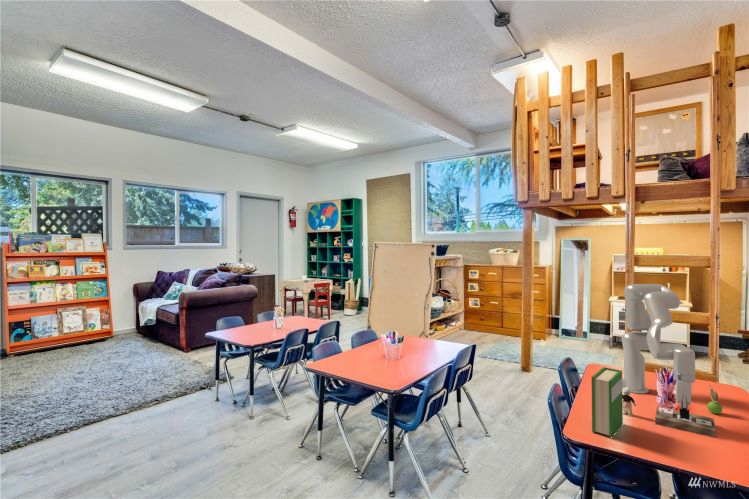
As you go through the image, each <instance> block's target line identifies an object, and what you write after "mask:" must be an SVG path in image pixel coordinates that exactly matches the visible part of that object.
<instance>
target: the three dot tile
mask: <svg viewBox="0 0 749 499" xmlns="http://www.w3.org/2000/svg"><path fill="white" fill-rule="evenodd" d="M677 419H681V420H686V421H691V422H692V417H689V419H685V418H681V417H680V415H677Z"/></svg>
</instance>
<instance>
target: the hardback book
mask: <svg viewBox="0 0 749 499" xmlns="http://www.w3.org/2000/svg"><path fill="white" fill-rule="evenodd" d="M622 379H623V370H621V369H616V368H611V367H605V366H603V367H601V368H600V369H599V370H597V372H596V373H594V374H593V375H592V376H591V433H592V432H595V433H600V434H603V435H606V436H609V438H610V437H613V436H614V434H615V433H616V432H617V433H618V431H619V430H620V429H619V428H621V427H622V426H623V425H622V424H624V423H623V422H624V421H623V420H624V417H623V415H624V414H623V399H622V395H623V392H622V390H623V389H622ZM618 429H619V430H618ZM617 433H616V434H617ZM616 434H615V435H616ZM614 437H615V436H614ZM614 437H613V438H614Z"/></svg>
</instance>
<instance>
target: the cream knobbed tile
mask: <svg viewBox="0 0 749 499" xmlns="http://www.w3.org/2000/svg"><path fill="white" fill-rule="evenodd" d="M696 423H700V424H704V425H709V426H712V424H711V421H706V420H701V419H696Z"/></svg>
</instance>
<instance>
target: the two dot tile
mask: <svg viewBox="0 0 749 499" xmlns="http://www.w3.org/2000/svg"><path fill="white" fill-rule="evenodd" d="M658 407H659V415H663V416H667V417H672V418H673V410H674V409H671V408H666V407H661V406H658ZM660 407H661V408H660ZM665 408H666V409H665ZM670 409H671V410H670Z"/></svg>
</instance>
